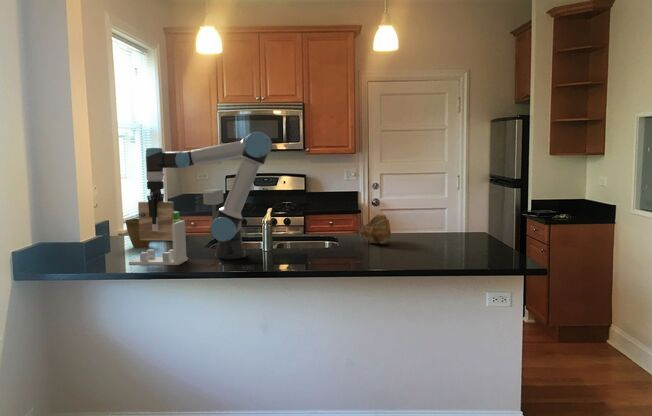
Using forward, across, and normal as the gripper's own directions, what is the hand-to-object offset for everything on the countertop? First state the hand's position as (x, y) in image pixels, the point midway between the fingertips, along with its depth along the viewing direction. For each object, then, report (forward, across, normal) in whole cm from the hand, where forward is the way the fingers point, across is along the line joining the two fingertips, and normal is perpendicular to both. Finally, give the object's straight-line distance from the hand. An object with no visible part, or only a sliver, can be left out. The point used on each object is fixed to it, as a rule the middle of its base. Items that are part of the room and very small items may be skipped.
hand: (157, 230), depth 252 cm
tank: (+16, +67, +29) cm, 74 cm away
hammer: (+15, +66, -6) cm, 68 cm away
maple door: (+5, 0, 0) cm, 5 cm away
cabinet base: (+15, 0, 0) cm, 15 cm away
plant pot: (+16, +38, +26) cm, 49 cm away
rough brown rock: (+15, +61, -101) cm, 119 cm away
